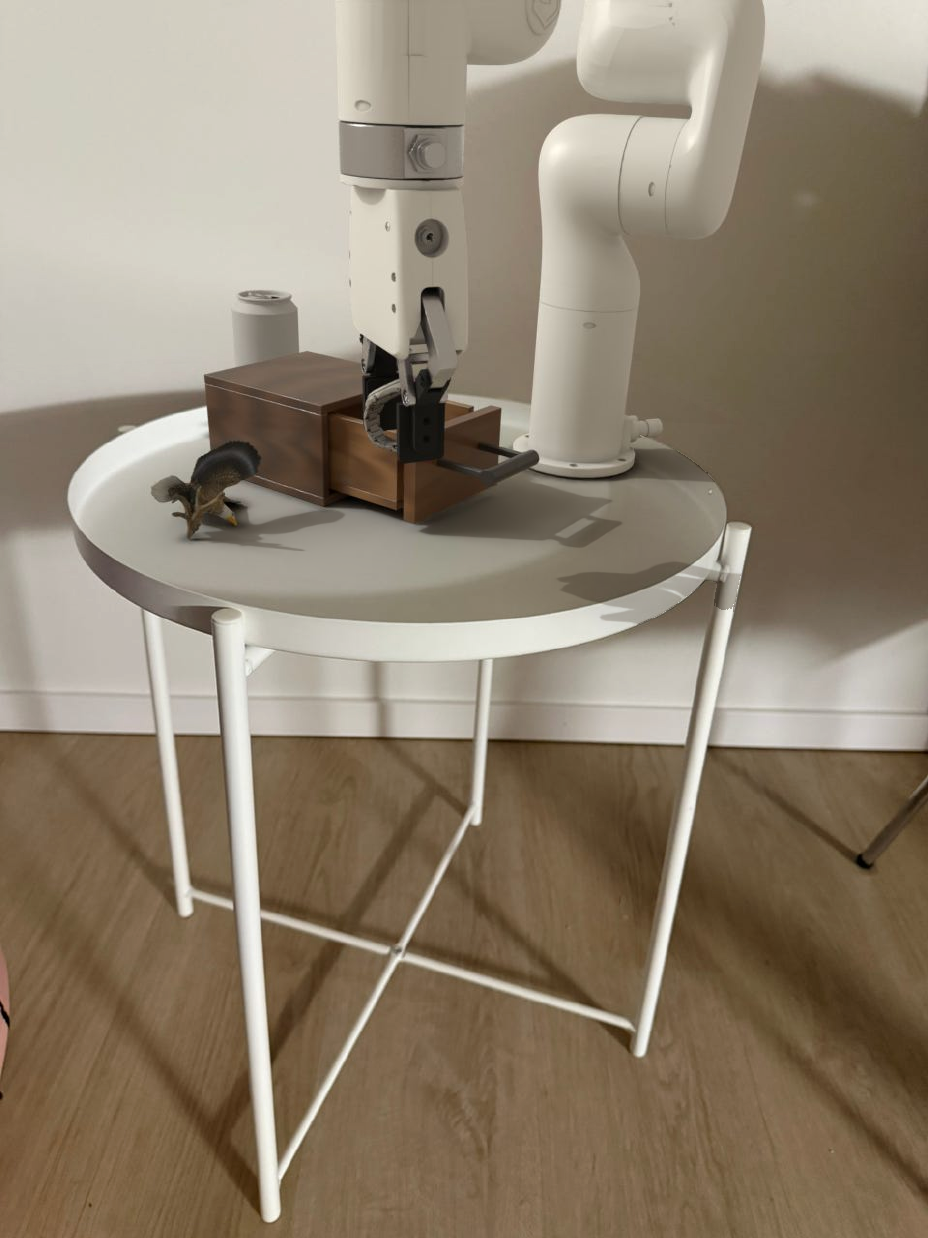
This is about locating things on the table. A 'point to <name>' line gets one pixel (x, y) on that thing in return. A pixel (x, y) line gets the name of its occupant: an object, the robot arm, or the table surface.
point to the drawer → (424, 482)
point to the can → (264, 326)
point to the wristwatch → (373, 418)
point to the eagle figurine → (209, 483)
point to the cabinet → (284, 417)
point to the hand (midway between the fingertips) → (402, 441)
